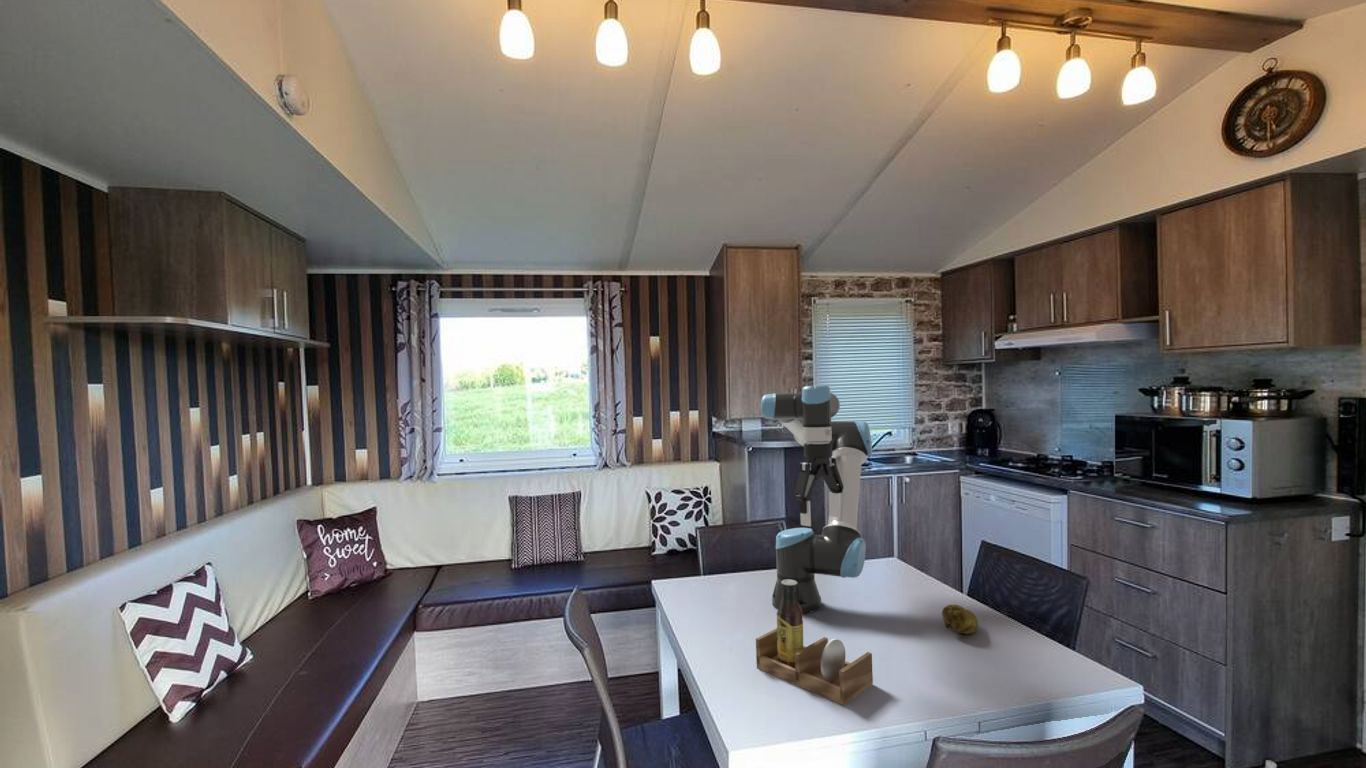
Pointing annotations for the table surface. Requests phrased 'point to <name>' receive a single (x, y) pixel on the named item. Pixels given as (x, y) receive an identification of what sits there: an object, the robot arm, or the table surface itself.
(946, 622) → the potato
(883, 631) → the table surface
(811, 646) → the dish rack
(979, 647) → the table surface
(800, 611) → the sauce bottle
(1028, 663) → the table surface
